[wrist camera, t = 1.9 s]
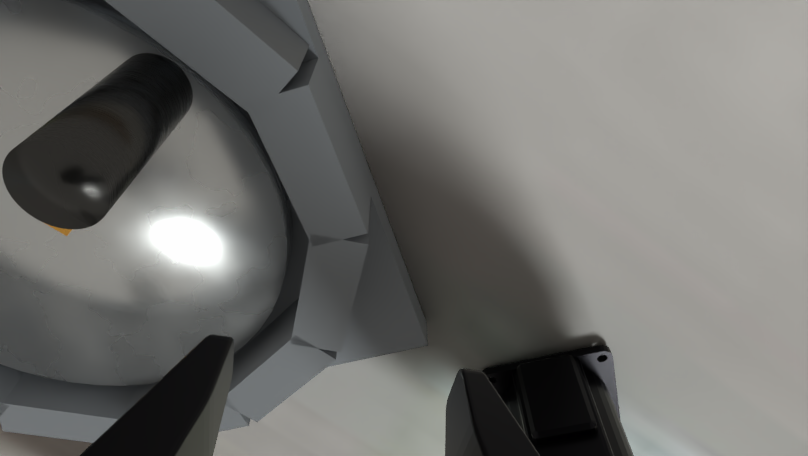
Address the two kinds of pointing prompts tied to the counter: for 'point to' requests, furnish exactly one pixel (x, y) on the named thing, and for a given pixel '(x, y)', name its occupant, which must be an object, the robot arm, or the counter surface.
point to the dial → (125, 201)
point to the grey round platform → (311, 217)
